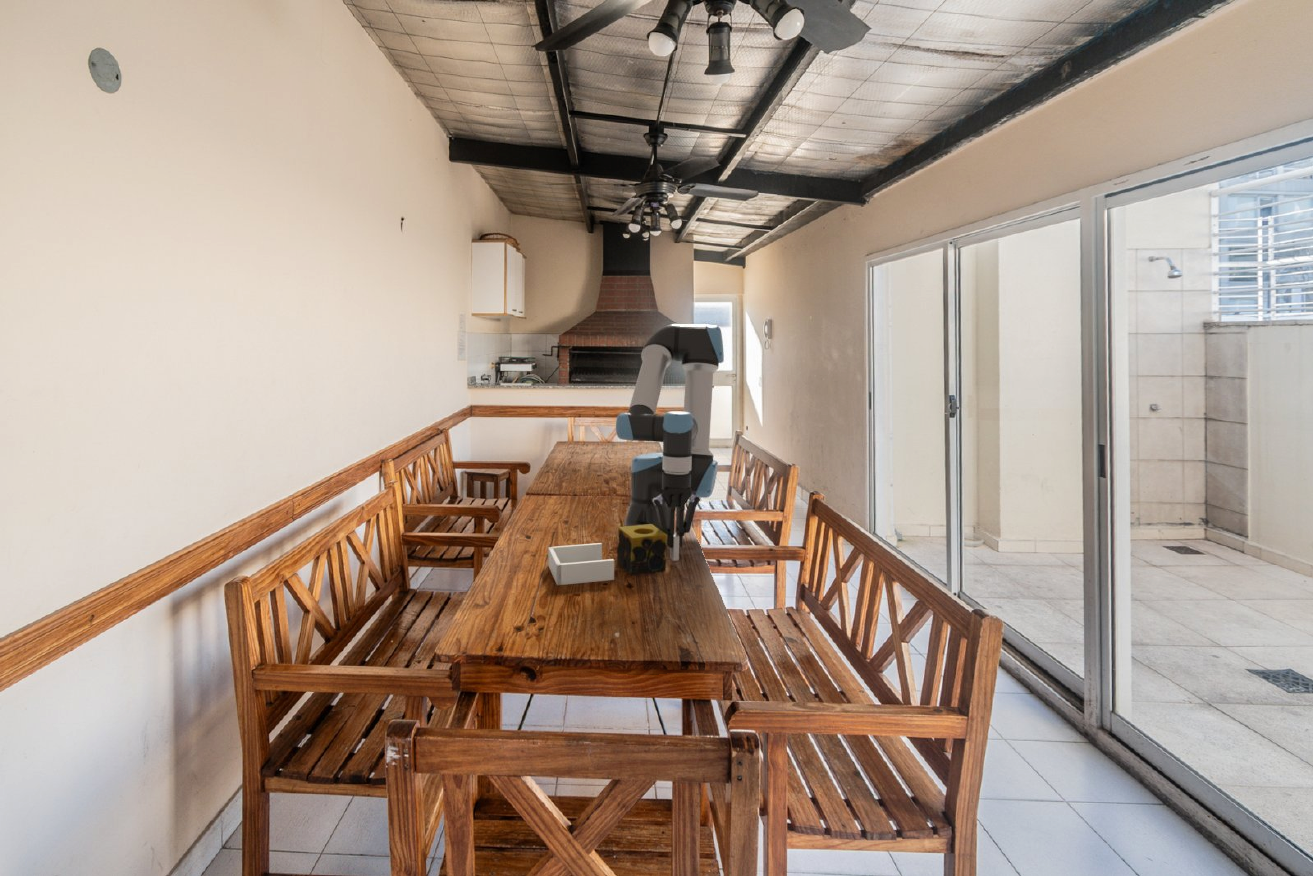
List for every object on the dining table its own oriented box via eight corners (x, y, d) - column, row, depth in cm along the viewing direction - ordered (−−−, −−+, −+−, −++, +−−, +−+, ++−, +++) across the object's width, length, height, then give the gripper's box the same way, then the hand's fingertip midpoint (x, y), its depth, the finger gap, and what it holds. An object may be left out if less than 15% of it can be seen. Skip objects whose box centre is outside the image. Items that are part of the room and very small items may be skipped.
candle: (616, 563, 168) (616, 526, 167) (651, 558, 172) (652, 523, 171) (629, 576, 159) (630, 537, 158) (666, 571, 163) (667, 533, 162)
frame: (600, 560, 169) (601, 542, 169) (613, 579, 156) (614, 560, 156) (548, 565, 165) (548, 547, 164) (557, 585, 152) (557, 565, 151)
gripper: (694, 467, 170) (691, 552, 174) (648, 469, 166) (646, 556, 170) (705, 473, 163) (702, 561, 167) (657, 475, 159) (655, 565, 163)
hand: (674, 558), depth 168 cm, fingers closed
